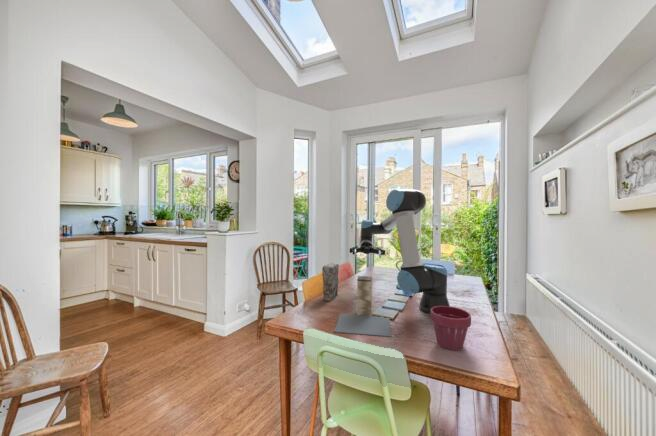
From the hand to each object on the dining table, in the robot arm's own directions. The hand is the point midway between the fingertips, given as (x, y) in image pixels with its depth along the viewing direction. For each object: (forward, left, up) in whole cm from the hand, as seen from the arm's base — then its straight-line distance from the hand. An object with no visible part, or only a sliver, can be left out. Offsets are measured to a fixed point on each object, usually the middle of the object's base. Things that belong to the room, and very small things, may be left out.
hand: (367, 254), depth 146 cm
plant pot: (-33, +38, -28) cm, 57 cm away
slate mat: (+1, +26, -28) cm, 38 cm away
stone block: (+22, -9, -28) cm, 37 cm away
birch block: (+1, +12, -28) cm, 30 cm away
